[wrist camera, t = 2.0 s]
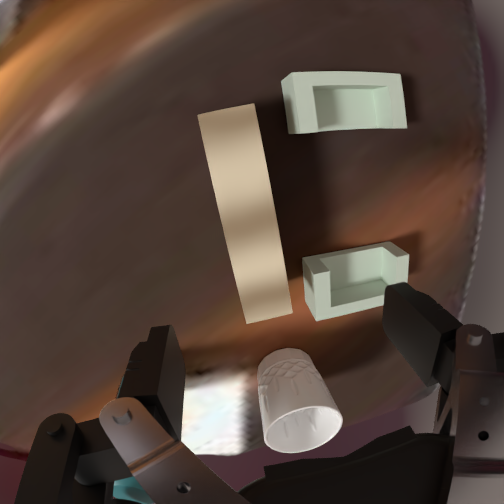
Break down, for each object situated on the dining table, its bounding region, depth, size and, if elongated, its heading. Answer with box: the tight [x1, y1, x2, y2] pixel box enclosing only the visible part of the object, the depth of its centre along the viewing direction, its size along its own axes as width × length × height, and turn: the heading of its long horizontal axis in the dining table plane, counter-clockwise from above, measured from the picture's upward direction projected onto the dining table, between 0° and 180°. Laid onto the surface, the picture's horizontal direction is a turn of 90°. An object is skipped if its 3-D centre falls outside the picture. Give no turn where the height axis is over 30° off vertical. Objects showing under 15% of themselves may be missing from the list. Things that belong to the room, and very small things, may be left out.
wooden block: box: [198, 104, 293, 324], centre depth 26 cm, size 17×4×6 cm, turn 11°
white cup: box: [257, 348, 343, 453], centre depth 31 cm, size 8×8×10 cm
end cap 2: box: [302, 241, 409, 321], centre depth 30 cm, size 5×10×4 cm, turn 98°
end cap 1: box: [281, 71, 407, 134], centre depth 24 cm, size 5×10×4 cm, turn 98°
